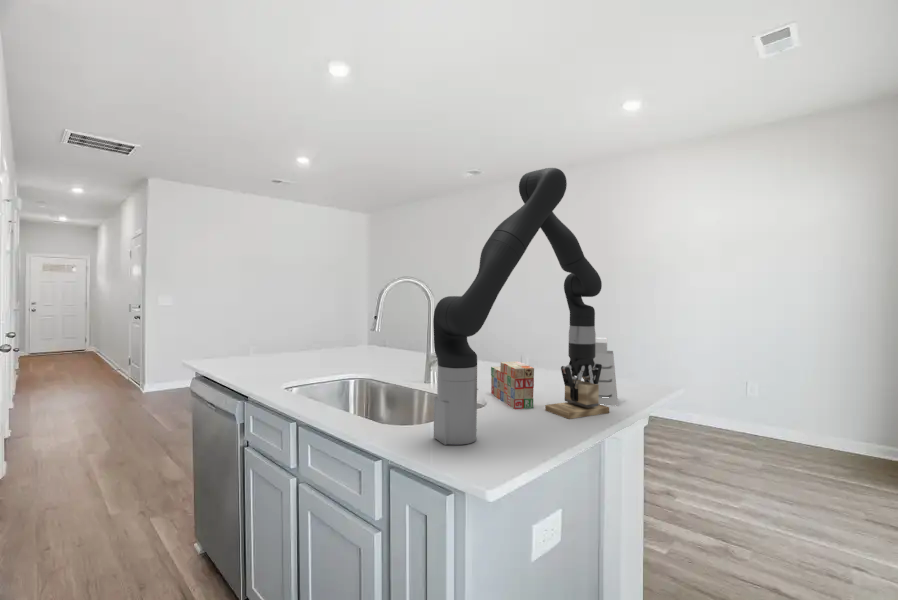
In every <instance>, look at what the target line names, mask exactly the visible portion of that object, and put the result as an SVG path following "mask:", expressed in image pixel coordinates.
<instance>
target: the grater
mask: <svg viewBox="0 0 898 600" xmlns="http://www.w3.org/2000/svg"><path fill="white" fill-rule="evenodd" d="M614 358H615V357H614V351H613V350H608V337H600V336H599V337H597V336H596V347H595V358H594V359H593V360H594V363H597V364H601V365H602V368H601V373H600V378H599V382H598V384H597V385H599V404H604V405H603V406H607V405H616V406H615V407H619V401H618V400H619V399H618V389H617V378H616V368H615V359H614ZM594 380H595V377H594ZM588 381H589V380H588ZM602 397H609V398H602Z"/></svg>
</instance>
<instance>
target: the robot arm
mask: <svg viewBox="0 0 898 600" xmlns="http://www.w3.org/2000/svg"><path fill="white" fill-rule="evenodd" d="M567 186H568V183H567V177H566V175H565V173H564V171H563V170H561V169H559V168H556V167H546V168H542V169H536V170H533V171H529V172H526V173H525V174H523V175H522V176H521V178H520V180H519V184H518V192H519V195H520V197H521V200H522V202H523V203H524V204H523V205H522V206H521V207H519V208H518V209H517V210H516V211H515V212H513V213H512V214H511V215H509V216H508V217H507V218H505V219H504V220H503V221H502V222H501V223H500V224H498V226H497V227H496V228H495V229H494V230H493V231H492V232H491V235H490V236H489V238H488V239H487V240H486V242H485V244H484V246H483V247H482V249H481V252H480V258H479V267H478V271H477V274H476V277H475V278H474V280H473V281H472V282H471V284H470V286H469V287H468V289H467V290H466V291H465V292H464V294H462V295H458V296H457V295H451V296H445V297H442V298H441V299H440V300H439V301H438V302H437V304H436V305H435V307H434V312H433V321H432V322H433V323H432V324H433V348H434V352H435V355H436V359H437V384H436V385H437V389H436V390H437V394H436V396H435V397H434V398H433V438H434V439H436V440H437V441H438V442H440V443H442V444H443V445H444V446H448V445H456V446H457V445H468V444H472V443H474V442H476V440H477V431H478V429H477V424H478V423H477V422H478V418H477V416H478V412H477V411H478V409H477V408H478V354H477V353H476V352H475V350H473V349H472V347H471V346H470V344H469V342H468V337H469V338H470V337H472V336H474V335H476V334H477V333H478V332H479V331H480V330H481V329H482V327H483V326H484V324H485V322H486V320H487V319H488V317H489V314H490V312H491V310H492V308H493V306H494V304H495V302H496V300H497V298H498V296H499V294H500V292H501V290H502V289H503V287H504V286H505V284H506V282H507V281H508V279H509V277H510V276H511V274H512V273H513V271H514V269H515V268H516V267H517V265H518V264H519V262H520V261H521V259H522V257H523V255H524V254H525V253H526V250H527V249H528V247H529V246H530V244H531V242H532V241H533V239H534V237H536V235H537V233H538V232H539V230H540V229H541V231H542V233H543V234H544V235H545V237H546V238H547V241H548V242H549V243H550V245H551V248H552V250H553V252H554V254H555V257H556V258H557V261H558V263H559V265H560V267H561V269H562V270H563V272H565V273H569V274H567V276H565V279H564V283H563V291H564V294H565V298H566V302H567V306H568V310H569V327H568V329H569V330H568V355H567V356H568V357H569V362H568V364H567V365H566V366H564V365H562V366H561V367H560V371H561V375H562V379H563V383H564V387H565V386H568V387H570V398H571V400H572V401H575V402H577V401H578V389H577V388H578V384H579V382H580V381H582V379H583V381H584V382H589V383H593V384H598V382H599V378H600V373H601V368H602V365H601V364H597V363H594V360H593V359H594V358H595V347H596V337H597V334H596V327H595V326H596V320H595V319H596V312H595V307H593V306H591V305H590V304H585V302H584V300H583V298H593V297H596V296H598V295H599V294H600V292H601V291H602V285H603V284H602V283H603V282H602V279H601V276H600V274H599V273H598V272H597V270H596V269H595V267H594V266H593V265H592V264H591V262H590V261H589V260H588V259H587V258H586V256H585V254H584V251H583V249H582V248H581V245H580V243H579V240H578V238H577V237H576V235H575V234H574V232H572V230H570V228H568V226H567V225H565V224H564V223H563V222H562V221H561V220H560V219H559V218H558V216H557V215H556V214H555V213H554V210H555V209H556V207H557V206H558V205H559V204H560V202H561V201H562V199H563V198H564V196H565V193H566V191H567ZM594 377H595V380H594ZM588 380H589V381H588ZM574 381H575V384H574Z"/></svg>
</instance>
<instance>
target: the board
mask: <svg viewBox="0 0 898 600" xmlns="http://www.w3.org/2000/svg"><path fill="white" fill-rule="evenodd" d="M544 407H545V408H544V411H545V412H549V413H551V414H553V415H555V416H556V415H557V416H559V417H563V418H565V419H568V420H570V419H571V420H573V419H578V418H585V417H590V416H591V415H592V416H598V414H599V415H605V414H609V413H610V406H607V405H600V404H598V406H595V407H589V408H586V407H582V406H579V405H576V404H573V403H570V402H567V401H564V402H558V403H551V404H545V405H544ZM592 416H591V417H592Z"/></svg>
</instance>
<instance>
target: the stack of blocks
mask: <svg viewBox="0 0 898 600" xmlns="http://www.w3.org/2000/svg"><path fill="white" fill-rule="evenodd" d="M490 376H491V378H490V381H491V382H490V383H491V387H490V390H491V394H492V395H493V396H494V397H496V398H497V399H499V400H500V401H501V402H503V403H505V404H506V405H507V406H509V407H510V408H512V410H522V409H534V386H535V383H534V382H535V379H534V378H535V367H532V366H530V365H528V364H527V363H523V362H520V361H517V360H516V361H501V362H500V366H491V367H490Z"/></svg>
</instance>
